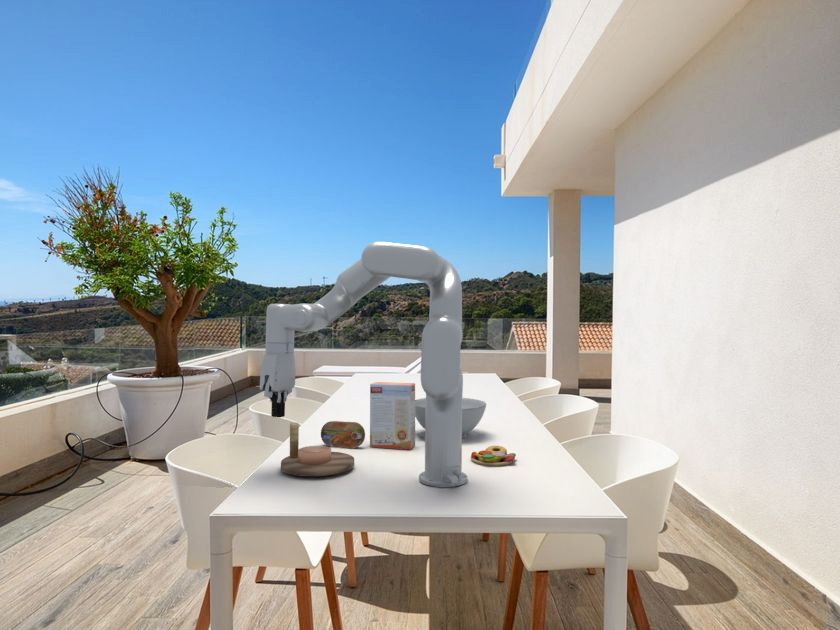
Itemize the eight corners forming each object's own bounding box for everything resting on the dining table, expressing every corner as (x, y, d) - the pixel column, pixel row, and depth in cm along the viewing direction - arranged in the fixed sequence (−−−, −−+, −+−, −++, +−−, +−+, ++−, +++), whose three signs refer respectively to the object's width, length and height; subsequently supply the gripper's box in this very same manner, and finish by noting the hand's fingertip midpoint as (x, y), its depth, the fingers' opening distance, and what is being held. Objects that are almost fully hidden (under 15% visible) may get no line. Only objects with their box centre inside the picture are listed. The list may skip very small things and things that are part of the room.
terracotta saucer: (334, 463, 145) (334, 451, 145) (300, 466, 142) (300, 454, 142) (327, 455, 154) (327, 444, 154) (295, 457, 151) (295, 447, 151)
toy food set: (499, 454, 167) (499, 444, 167) (525, 464, 155) (525, 453, 155) (462, 459, 161) (462, 448, 161) (486, 470, 149) (487, 458, 149)
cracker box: (415, 446, 176) (416, 382, 176) (410, 450, 170) (411, 384, 170) (375, 443, 180) (375, 381, 180) (369, 447, 174) (369, 383, 174)
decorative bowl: (430, 426, 209) (430, 395, 209) (495, 432, 198) (496, 400, 198) (397, 439, 185) (397, 404, 185) (470, 448, 173) (470, 411, 174)
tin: (320, 446, 175) (320, 420, 175) (324, 444, 178) (324, 418, 178) (362, 449, 171) (362, 423, 171) (366, 447, 174) (366, 421, 174)
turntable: (363, 471, 143) (363, 430, 143) (286, 479, 135) (287, 436, 135) (344, 453, 161) (344, 417, 162) (276, 460, 154) (276, 421, 154)
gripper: (285, 347, 154) (283, 411, 154) (250, 349, 140) (248, 419, 140) (307, 348, 151) (305, 413, 151) (273, 351, 137) (271, 422, 137)
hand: (277, 416), depth 145 cm, fingers closed
